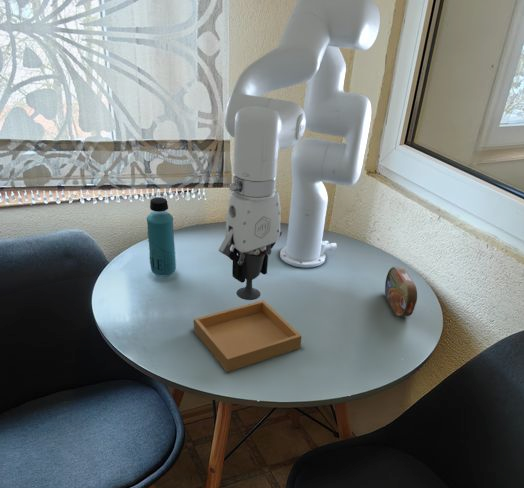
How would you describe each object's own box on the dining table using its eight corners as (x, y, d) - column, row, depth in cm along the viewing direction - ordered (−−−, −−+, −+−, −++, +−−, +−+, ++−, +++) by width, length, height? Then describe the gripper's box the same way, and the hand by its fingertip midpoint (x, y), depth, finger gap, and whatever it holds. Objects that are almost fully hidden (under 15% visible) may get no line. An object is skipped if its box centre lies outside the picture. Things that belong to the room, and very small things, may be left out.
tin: (382, 290, 132) (389, 260, 127) (394, 290, 132) (401, 260, 127) (399, 323, 120) (408, 292, 115) (412, 323, 120) (421, 292, 115)
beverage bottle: (179, 270, 134) (176, 195, 121) (173, 283, 128) (169, 206, 116) (154, 267, 134) (148, 192, 122) (147, 280, 129) (140, 203, 116)
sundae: (269, 290, 106) (275, 221, 97) (258, 305, 101) (264, 234, 92) (239, 282, 108) (243, 214, 99) (227, 297, 102) (230, 226, 94)
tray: (262, 312, 120) (263, 300, 118) (300, 348, 110) (301, 335, 108) (193, 331, 113) (193, 318, 111) (227, 372, 102) (227, 359, 100)
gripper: (229, 201, 84) (227, 296, 95) (303, 182, 93) (293, 271, 104) (202, 187, 88) (203, 280, 99) (275, 170, 98) (269, 256, 109)
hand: (249, 274), depth 102 cm, fingers closed on sundae, 4 cm apart
